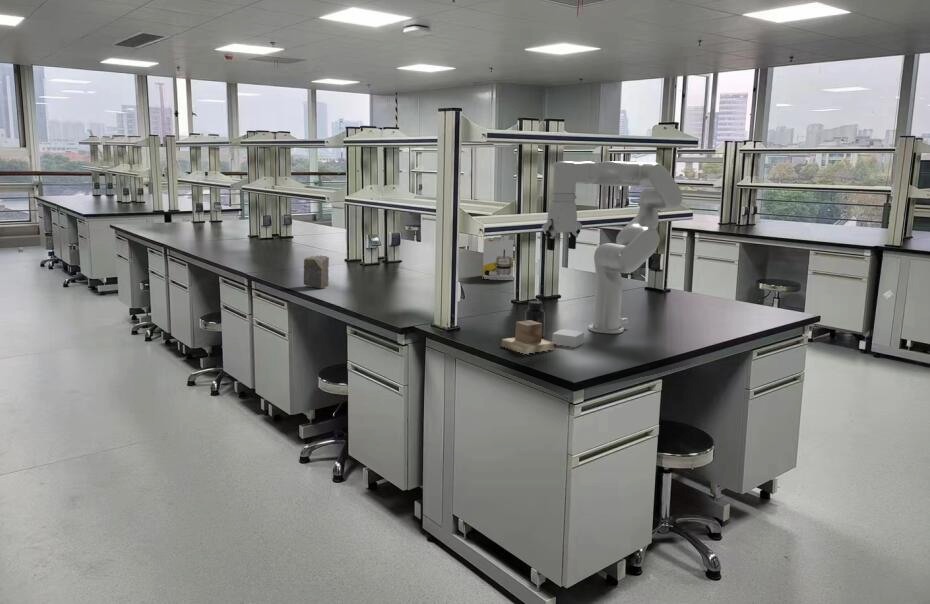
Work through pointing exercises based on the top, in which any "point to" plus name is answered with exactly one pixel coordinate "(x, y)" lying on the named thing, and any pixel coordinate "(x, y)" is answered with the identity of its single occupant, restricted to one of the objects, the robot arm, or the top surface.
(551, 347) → the oak block
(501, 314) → the top surface
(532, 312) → the supplement bottle
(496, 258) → the packaging box
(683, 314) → the top surface
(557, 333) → the grey plastic block
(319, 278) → the geological specimen
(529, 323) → the walnut cube
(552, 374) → the top surface
